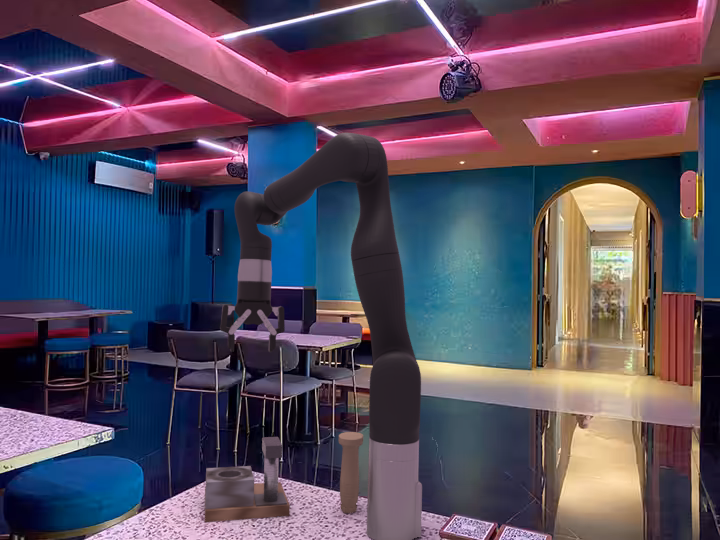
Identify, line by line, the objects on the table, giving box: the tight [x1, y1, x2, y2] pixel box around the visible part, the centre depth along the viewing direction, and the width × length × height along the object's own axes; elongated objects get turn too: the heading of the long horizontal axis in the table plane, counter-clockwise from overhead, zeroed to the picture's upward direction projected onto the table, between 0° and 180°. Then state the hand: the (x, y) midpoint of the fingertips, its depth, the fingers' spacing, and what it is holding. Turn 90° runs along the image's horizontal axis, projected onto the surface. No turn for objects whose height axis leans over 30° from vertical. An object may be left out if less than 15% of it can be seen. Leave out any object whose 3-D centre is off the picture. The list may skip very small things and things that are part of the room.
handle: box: [338, 431, 364, 514], centre depth 112 cm, size 5×6×15 cm
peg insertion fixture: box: [204, 465, 291, 523], centre depth 113 cm, size 16×14×7 cm
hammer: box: [261, 436, 283, 502], centre depth 110 cm, size 7×3×11 cm, turn 16°
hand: (251, 351), depth 125 cm, fingers open, 8 cm apart
